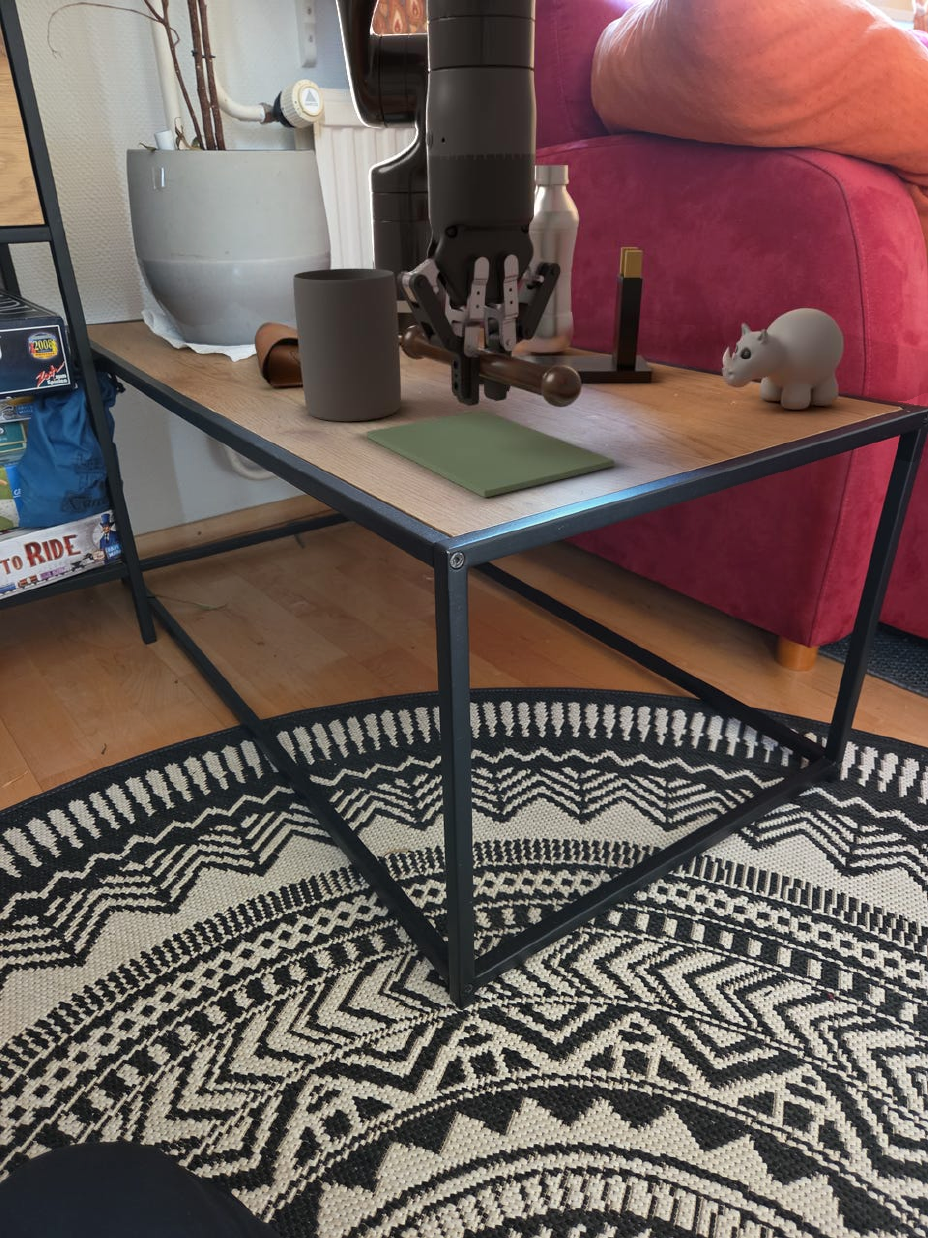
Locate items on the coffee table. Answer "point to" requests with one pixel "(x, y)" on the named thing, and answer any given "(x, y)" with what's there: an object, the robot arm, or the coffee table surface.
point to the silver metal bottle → (554, 255)
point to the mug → (348, 343)
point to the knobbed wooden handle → (505, 369)
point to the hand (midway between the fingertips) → (481, 399)
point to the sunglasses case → (278, 355)
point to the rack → (625, 338)
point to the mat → (488, 452)
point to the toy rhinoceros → (789, 359)
